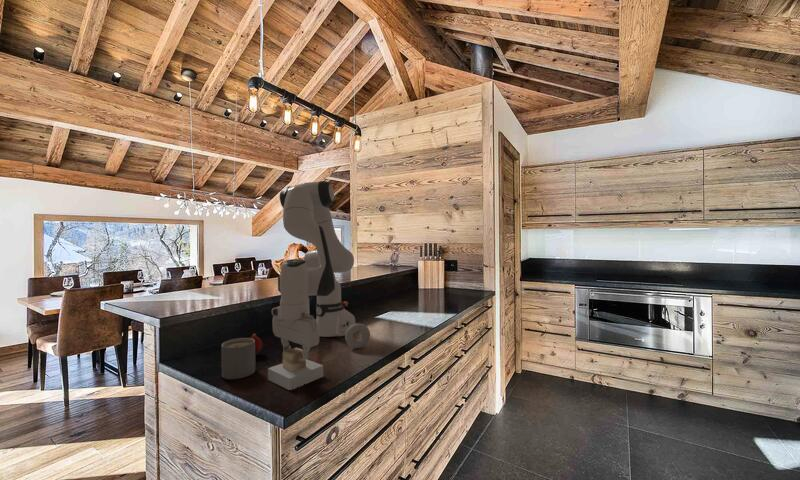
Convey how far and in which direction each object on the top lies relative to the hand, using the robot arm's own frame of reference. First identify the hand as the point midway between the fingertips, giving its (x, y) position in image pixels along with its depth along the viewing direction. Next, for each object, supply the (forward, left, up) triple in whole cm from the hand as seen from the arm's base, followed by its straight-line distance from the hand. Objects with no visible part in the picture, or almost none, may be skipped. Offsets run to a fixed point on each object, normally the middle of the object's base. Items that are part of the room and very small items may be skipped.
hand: (295, 354), depth 102 cm
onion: (-2, -30, -8) cm, 31 cm away
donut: (-31, -4, -8) cm, 32 cm away
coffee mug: (+8, -20, -8) cm, 23 cm away
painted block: (0, 0, -8) cm, 8 cm away
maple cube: (0, 0, -4) cm, 4 cm away
